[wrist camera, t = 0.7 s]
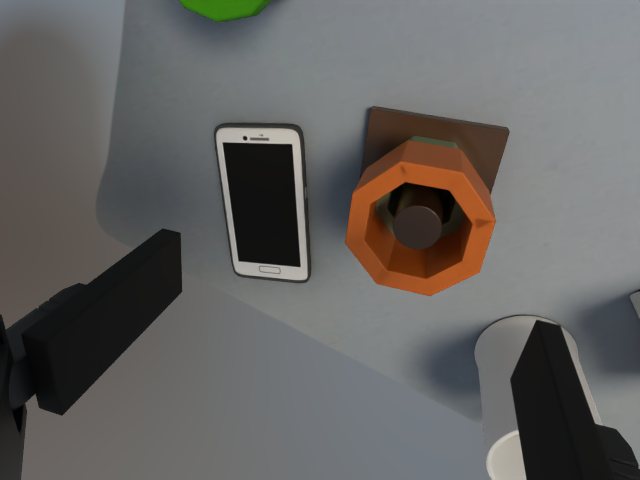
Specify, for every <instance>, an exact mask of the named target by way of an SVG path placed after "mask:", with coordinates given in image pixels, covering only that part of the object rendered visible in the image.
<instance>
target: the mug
mask: <svg viewBox="0 0 640 480" xmlns="http://www.w3.org/2000/svg"><path fill="white" fill-rule="evenodd" d="M536 319H537V320H541V321H545V322H549V323H553V324H557V323H555V322H553V321H551V320H548V319H545V318H541V317H536V316H514V317H509V318H505V319H502V320H500V321H497V322H495V323H494V324H492V325H491V326H489V327H488V328H487V329H486V330H485V331H484V332H483V333H482V334H481V335H480V337H479V338H478V340H477V343H476V346H475V361H476V364H477V367H478V370H479V381H480V394H481V406H482V419H483V431H484V444H485V456H486V466H487V471H488V473H489V476H490V478H491V479H492V480H526V474H525V468H524V462H523V456H522V450H521V443H520V437H519V431H518V425H517V419H516V413H515V407H514V401H513V395H512V389H511V383H510V378H511V376H512V373H513V371H514V369H515V367H516V364H517V362H518V360H519V358H520V355H521V353H522V351H523V349H524V346H525V344H526V342H527V340H528V337H529V335H530V333H531V330H532V328H533V326H534V324H535V321H536ZM557 325H559V324H557ZM561 329H562V331H563V334H564V337H565V340H566V343H567V346H568V348H569V351H570V354H571V357H572V360H573V362H574V365H575V368H576V371H577V374H578V377H579V379H580V382H581V385H582V388H583V391H584V394H585V396H586V399H587V402H588V405H589V408H590V410H591V413H592V416H593V419H594V422H595V424H598V425H602V426H603V424H602V422H601V419H600V416H599V414H598V411H597V408H596V405H595V403H594V400H593V397H592V395H591V392H590V389H589V387H588V384H587V381H586V378H585V376H584V373H583V370H582V368H581V365H580V362H579V353H578V348H577V345H576V343H575V341H574V339H573V337H572V336H571V335H570V334H569V332H568V331H567V330H565V329H564V328H563V327H562V326H561Z"/></svg>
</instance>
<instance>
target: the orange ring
mask: <svg viewBox="0 0 640 480" xmlns="http://www.w3.org/2000/svg"><path fill="white" fill-rule="evenodd" d="M405 182H408V183H413V184H419V185H424V186H429V187H435V188H440V189H445V190H449V191H450V192H451V194H452V195H453V197H454V198H455V200H456V201H457V202H458V204H459V205H460V207H461V208H462V210H463V211H464V216H463V219H462V223H461V226H460V228H459V229H457V230H455V231H453V232H451V233H449V234H448V235H446V236H444V237H442V238H440V239H438V241H437V242H436V243H434V244H433V245H432V246H430V247H428V248H425V249H411V248H408V247H406V246H404V245H402V244H401V243H400V242H399V241H398V240H397V239H396V237H394V235H393V234H392V232H391V231H390V230H389V228H388V227H387V226H386V224H385V223H384V222H383V220H382V219H381V218H380V216H379V215H378V214H377V212H376V206H377V200H378V199H379V198H381V197H383V196H384V195H386V194H387V193H389V192H391V191H392V190H394V189H395V188H397V187H398V186H400V185H402V184H403V183H405ZM495 223H496V220H495V215H494V211H493V206H492V202H491V197H490V193H489V190H488V188H487V187H486V185H485V184H484V182H483V181H482V179H481V178H480V176H479V175H478V173H477V172H476V170H475V169H474V167H473V166H472V164H471V163H470V161H469V160H468V158H467V157H466V155H465V154H464V152H463V151H462V150H461V149H457V148H451V147H445V146H439V145H434V144H428V143H422V142H416V141H410V140H408V141H406V142H404V143H403V144H401V145H400V146H398V147H397V148H395V149H394V150H392V151H391V152H389V153H388V154H387V155H385V156H384V157H382V158H381V159H379V160H378V161H376V162H375V163H373V164H372V165H370V166H369V167H367V168H366V170H365V171H364V173H363V175H362V177H361V179H360V181H359V182H358V184H357V186H356V188H355V190H354V192H353V193H352V200H351V206H350V213H349V220H348V226H347V233H346V240H345V243H346V245H347V246H348V248H349V249H350V250H351V251H352V253H353V254H354V255H355V257H356V258H357V259H358V260H359V262H360V263H361V264H362V266H363V267H364V268H365V269H366V271H367V272H368V273H369V275H370V276H371V277H372V278H373V280H374V281H375V282H376V283H377V284H379V285H384V286H388V287H392V288H397V289H401V290H405V291H410V292H414V293H419V294H423V295H427V296H431V295H433V294H435V293H438V292H440V291H442V290H444V289H446V288H448V287H450V286H452V285H454V284H456V283H458V282H460V281H463V280H465V279H467V278H469V277H471V276H473V275H475V274H477V273H479V272H480V269H481V266H482V263H483V260H484V257H485V254H486V251H487V247H488V244H489V241H490V238H491V235H492V232H493V229H494V226H495Z"/></svg>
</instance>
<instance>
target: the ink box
mask: <svg viewBox="0 0 640 480" xmlns="http://www.w3.org/2000/svg"><path fill="white" fill-rule="evenodd" d="M630 299H631V301H632V303H633V306H634V308H635V310H636V312H637V315H638V317H639V319H640V291H639V292H636V293H633V294H631V295H630Z"/></svg>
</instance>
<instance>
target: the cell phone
mask: <svg viewBox="0 0 640 480" xmlns="http://www.w3.org/2000/svg"><path fill="white" fill-rule="evenodd" d="M214 137H215V149H216V156H217V163H218V170H219V177H220V184H221V191H222V198H223V205H224V212H225V219H226V226H227V233H228V240H229V247H230V254H231V261H232V266H233V270H234V272H235V274H236V275H238V276H240V277H245V278H253V279H263V280H272V281H282V282H292V283H305V282H307V281H308V280H309V278H310V276H311V258H310V239H309V221H308V203H307V197H306V191H305V188H306V187H307V184H306V166H305V147H304V137H303V132H302V130H301V128H300V127H299V126H297V125H293V124H263V123H225V124H221V125H219V126H217V127H216V128H215V132H214ZM218 157H219V160H218ZM219 165H220V167H219ZM220 172H221V174H220ZM221 179H222V181H221Z"/></svg>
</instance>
